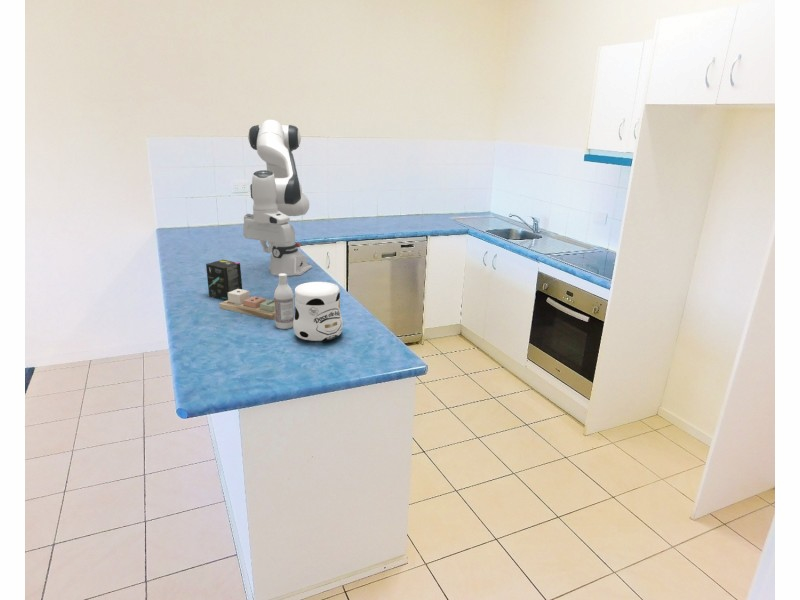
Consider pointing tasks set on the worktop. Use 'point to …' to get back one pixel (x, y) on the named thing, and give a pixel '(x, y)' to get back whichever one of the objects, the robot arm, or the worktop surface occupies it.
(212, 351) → the worktop surface
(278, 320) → the bath foam
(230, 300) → the toy block
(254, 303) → the toy block
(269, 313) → the board
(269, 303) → the toy block
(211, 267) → the tampon box
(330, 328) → the milk container
